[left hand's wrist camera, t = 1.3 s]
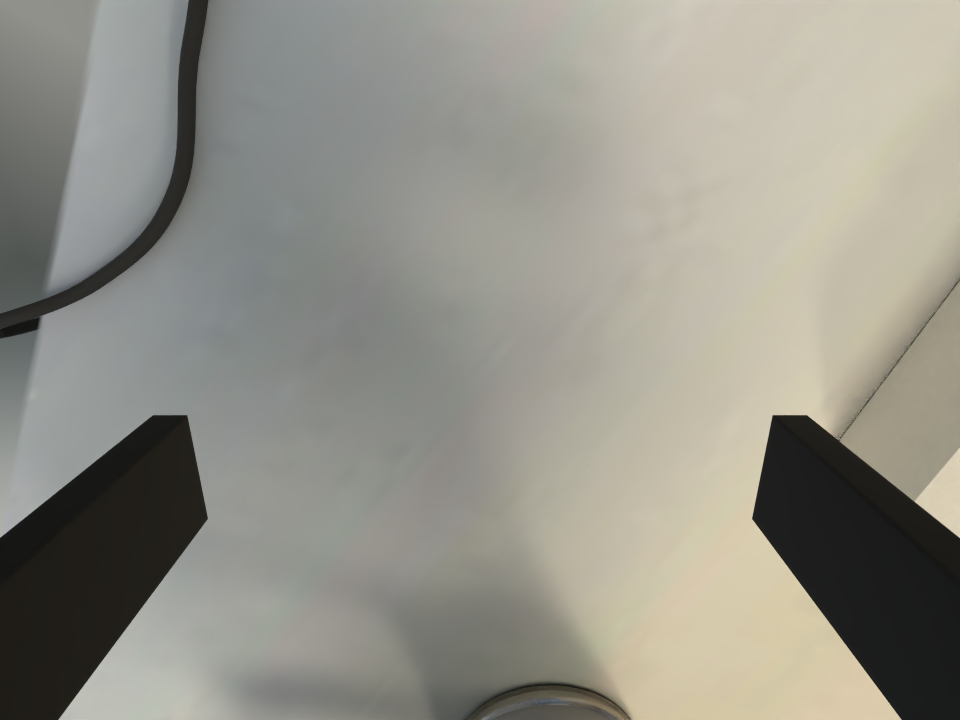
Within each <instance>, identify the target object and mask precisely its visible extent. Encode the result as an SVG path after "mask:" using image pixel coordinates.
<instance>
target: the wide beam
mask: <svg viewBox="0 0 960 720" xmlns="http://www.w3.org/2000/svg"><path fill="white" fill-rule="evenodd" d="M839 441H840V442H841V443H842V444H843V445H845V446H846V447H847V448H848V449H849V450H851V451H852V452H853V453H854V454H856V455H857V456H858V457H859V458H861V459H862V460H863V461H864V462H866V463H867V464H868V465H869V466H871V467H872V468H873V469H874V470H876V471H877V472H878V473H879V474H881V475H882V476H883V477H884V478H886V479H887V480H888V481H889V482H891V483H892V484H893V485H894V486H896V487H897V488H898V489H899V490H901V491H902V492H903V493H904V494H906V495H907V496H908V497H909V498H911V499H912V500H913V501H914V502H916V503H917V504H918V505H919V506H921V507H922V508H923V509H924V510H926V511H927V512H928V513H929V514H931V515H932V516H933V517H934V518H936V519H937V520H938V521H939V522H941V523H942V524H943V525H944V526H946V527H947V528H948V529H949V530H951V531H952V532H953V533H954V534H956V535H957V536H958V537H959V538H960V281H959V282H958V284H957V285H956V286H955V288H954V289H953V290H952V292H951V293H950V294H949V296H948V297H947V298H946V300H945V301H944V302H943V304H942V305H941V306H940V308H939V309H938V310H937V312H936V313H935V314H934V316H933V317H932V318H931V320H930V321H929V322H928V324H927V325H926V326H925V327H924V329H923V330H922V331H921V333H920V334H919V335H918V337H917V338H916V339H915V341H914V342H913V343H912V345H911V346H910V347H909V349H908V350H907V351H906V353H905V354H904V355H903V357H902V358H901V359H900V361H899V362H898V363H897V365H896V366H895V367H894V369H893V370H892V371H891V373H890V374H889V375H888V377H887V378H886V379H885V381H884V382H883V383H882V385H881V386H880V387H879V389H878V390H877V391H876V393H875V394H874V395H873V397H872V398H871V399H870V400H869V402H868V403H867V404H866V406H865V407H864V408H863V410H862V411H861V412H860V414H859V415H858V416H857V418H856V419H855V420H854V422H853V423H852V424H851V426H850V427H849V428H848V430H847V431H846V432H845V434H844V435H843V436H842V438H841V439H840V440H839Z"/></svg>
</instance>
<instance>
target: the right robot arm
mask: <svg viewBox="0 0 960 720" xmlns="http://www.w3.org/2000/svg"><path fill="white" fill-rule="evenodd" d="M207 5H208V0H189V3H188V11H187V18H186V24H185V30H184V36H183V42H182V48H181V55H180V64H179V78H178V131H177V149H176V157H175V164H174V169H173V173H172V177H171V180H170V184H169V186H168V189H167V191H166V194H165V196H164V198H163V201H162V203H161V205H160V207H159V209H158V210H157V212H156V214H155V216H154V217H153V219H152V220H151V222H150V223H149V225H148V226H147V228H146V229H145V230H144V231H143V233H142V234H141V235H140V236H139V237H138V238H137V239H136V240H135V242H134V243H133V244H132V245H130V246H129V247H128V248H127V249H126V250H125V251H124V252H123V253H121V254H120V255H119V256H118V257H116V258H115V259H114V260H112V261H111V262H110V263H108V264H107V265H106V266H104V267H103V268H102V269H100V270H99V271H97V272H96V273H94V274H93V275H92V276H90V277H89V278H87V279H85V280H84V281H82V282H81V283H79V284H77V285H75V286H73V287H71V288H70V289H68V290H65V291H63V292H61V293H59V294H56V295H54V296H51V297H49V298H46V299H43V300H41V301H38V302H35V303H32V304H29V305H26V306H23V307H20V308H17V309H14V310H11V311H8V312H5V313H1V314H0V339H1V338H6V337H11V336H16V335H20V334H24V333H28V332H32V331H35V330H38V329H40V324H41V318H42V315H44V314H47V313H50V312H53V311H55V310H58V309H60V308H63V307H65V306H67V305H70V304H72V303H74V302H76V301H78V300H80V299H82V298H84V297H86V296H88V295H90V294H92V293H93V292H95V291H96V290H98V289H100V288H101V287H103V286H104V285H106V284H107V283H109V282H110V281H112V280H113V279H114V278H116V277H117V276H119V275H120V274H121V273H123V272H124V271H125V270H127V269H128V268H129V267H131V266H132V265H133V264H134V263H136V262H137V261H138V260H139V259H140V258H141V257H143V256H144V255H145V254H146V253H147V252H148V251H149V250H150V249H151V248H152V247H153V246H154V244H155V243H156V242H157V241H158V240H159V238H160V237H161V236H162V234H163V233H164V232H165V230H166V229H167V227H168V226H169V224H170V222H171V221H172V219H173V217H174V215H175V214H176V212H177V210H178V207H179V205H180V203H181V201H182V198H183V196H184V193H185V191H186V188H187V184H188V181H189V178H190V173H191V168H192V162H193V155H194V143H195V108H196V81H197V69H198V61H199V54H200V49H201V43H202V37H203V32H204V26H205V20H206V13H207ZM39 316H41V317H39ZM36 317H37V318H36Z"/></svg>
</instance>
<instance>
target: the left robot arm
mask: <svg viewBox="0 0 960 720" xmlns="http://www.w3.org/2000/svg"><path fill="white" fill-rule="evenodd" d="M207 519H208V517H207V512H206V507H205V502H204V497H203V492H202V487H201V482H200V477H199V472H198V467H197V462H196V457H195V452H194V447H193V442H192V437H191V432H190V427H189V422H188V417H187V415H153V416H152V417H150V418H149V419H148V420H147V421H145V422H144V423H143V424H142V425H140V426H139V427H138V428H137V429H135V430H134V431H133V432H132V433H130V434H129V435H128V436H127V437H125V438H124V439H123V440H122V441H120V442H119V443H118V444H117V445H115V446H114V447H113V448H112V449H111V450H109V451H108V452H107V453H106V454H104V455H103V456H102V457H101V458H99V459H98V460H97V461H96V462H94V463H93V464H92V465H91V466H89V467H88V468H87V469H86V470H84V471H83V472H82V473H81V474H79V475H78V476H77V477H76V478H74V479H73V480H72V481H71V482H69V483H68V484H67V485H66V486H64V487H63V488H62V489H61V490H59V491H58V492H57V493H56V494H54V495H53V496H52V497H51V498H49V499H48V500H47V501H46V502H44V503H43V504H42V505H41V506H39V507H38V508H37V509H36V510H34V511H33V512H32V513H31V514H29V515H28V516H27V517H26V518H24V519H23V520H22V521H21V522H19V523H18V524H17V525H16V526H14V527H13V528H12V529H11V530H9V531H8V532H7V533H6V534H4V535H3V536H2V537H1V538H0V720H58V719H59V718H60V717H61V715H62V714H63V713H64V711H65V710H66V709H67V707H68V706H69V705H70V703H71V702H72V701H73V699H74V698H75V697H76V695H77V694H78V692H79V691H80V690H81V688H82V687H83V686H84V684H85V683H86V682H87V680H88V679H89V678H90V676H91V675H92V674H93V672H94V671H95V670H96V668H97V667H98V666H99V664H100V663H101V662H102V660H103V659H104V658H105V656H106V655H107V654H108V652H109V651H110V650H111V648H112V647H113V645H114V644H115V643H116V641H117V640H118V639H119V637H120V636H121V635H122V633H123V632H124V631H125V629H126V628H127V627H128V625H129V624H130V623H131V621H132V620H133V619H134V617H135V616H136V615H137V613H138V612H139V611H140V609H141V608H142V607H143V605H144V604H145V602H146V601H147V600H148V598H149V597H150V596H151V594H152V593H153V592H154V590H155V589H156V588H157V586H158V585H159V584H160V582H161V581H162V580H163V578H164V577H165V576H166V574H167V573H168V572H169V570H170V569H171V568H172V566H173V565H174V564H175V562H176V561H177V560H178V558H179V557H180V555H181V554H182V553H183V551H184V550H185V549H186V547H187V546H188V545H189V543H190V542H191V541H192V539H193V538H194V537H195V535H196V534H197V533H198V531H199V530H200V529H201V527H202V526H203V525H204V523H205V522H206V521H207ZM752 519H753V521H754V522H755V523H756V525H757V526H758V527H759V529H760V530H761V531H762V533H763V534H764V535H765V537H766V538H767V539H768V541H769V542H770V543H771V545H772V546H773V547H774V549H775V550H776V551H777V553H778V554H779V555H780V557H781V558H782V560H783V561H784V562H785V564H786V565H787V566H788V568H789V569H790V570H791V572H792V573H793V574H794V576H795V577H796V578H797V580H798V581H799V582H800V584H801V585H802V586H803V588H804V589H805V590H806V592H807V593H808V594H809V596H810V597H811V598H812V600H813V601H814V602H815V604H816V605H817V607H818V608H819V609H820V611H821V612H822V613H823V615H824V616H825V617H826V619H827V620H828V621H829V623H830V624H831V625H832V627H833V628H834V629H835V631H836V632H837V633H838V635H839V636H840V637H841V639H842V640H843V641H844V643H845V644H846V645H847V647H848V648H849V650H850V651H851V652H852V654H853V655H854V656H855V658H856V659H857V660H858V662H859V663H860V664H861V666H862V667H863V668H864V670H865V671H866V672H867V674H868V675H869V676H870V678H871V679H872V680H873V682H874V683H875V684H876V686H877V687H878V688H879V690H880V691H881V692H882V694H883V695H884V697H885V698H886V699H887V701H888V702H889V703H890V705H891V706H892V707H893V709H894V710H895V711H896V713H897V714H898V715H899V717H900V718H901V719H902V720H960V538H959V537H958V536H957V535H956V534H954V533H953V532H952V531H951V530H949V529H948V528H947V527H946V526H944V525H943V524H942V523H941V522H939V521H938V520H937V519H936V518H934V517H933V516H932V515H931V514H929V513H928V512H927V511H926V510H924V509H923V508H922V507H921V506H919V505H918V504H917V503H916V502H914V501H913V500H912V499H911V498H909V497H908V496H907V495H906V494H904V493H903V492H902V491H901V490H899V489H898V488H897V487H896V486H894V485H893V484H892V483H891V482H889V481H888V480H887V479H886V478H884V477H883V476H882V475H881V474H879V473H878V472H877V471H876V470H874V469H873V468H872V467H871V466H869V465H868V464H867V463H866V462H864V461H863V460H862V459H861V458H859V457H858V456H857V455H856V454H854V453H853V452H852V451H851V450H849V449H848V448H847V447H846V446H845V445H843V444H842V443H841V442H840V441H838V440H837V439H836V438H835V437H833V436H832V435H831V434H830V433H828V432H827V431H826V430H825V429H823V428H822V427H821V426H820V425H818V424H817V423H816V422H815V421H813V420H812V419H811V418H810V417H808V416H807V415H773V417H772V422H771V427H770V432H769V437H768V442H767V447H766V452H765V457H764V462H763V467H762V472H761V477H760V482H759V487H758V492H757V497H756V502H755V507H754V512H753V517H752ZM467 720H629V718H628V717H627V716H626V714H625V713H624V712H623V711H622V710H621V709H620V708H618V707H617V706H616V705H615V704H613V703H612V702H610V701H609V700H607V699H605V698H603V697H601V696H599V695H597V694H595V693H592V692H589V691H586V690H582V689H579V688H574V687H568V686H557V685H544V686H533V687H527V688H521V689H517V690H514V691H510V692H508V693H505V694H502V695H500V696H498V697H496V698H494V699H492V700H490V701H488V702H487V703H485V704H484V705H482V706H481V707H479V708H478V709H477V710H476V711H475V712H474V713H473V714H472V715H471V716H470V717H469V718H468V719H467Z"/></svg>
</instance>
